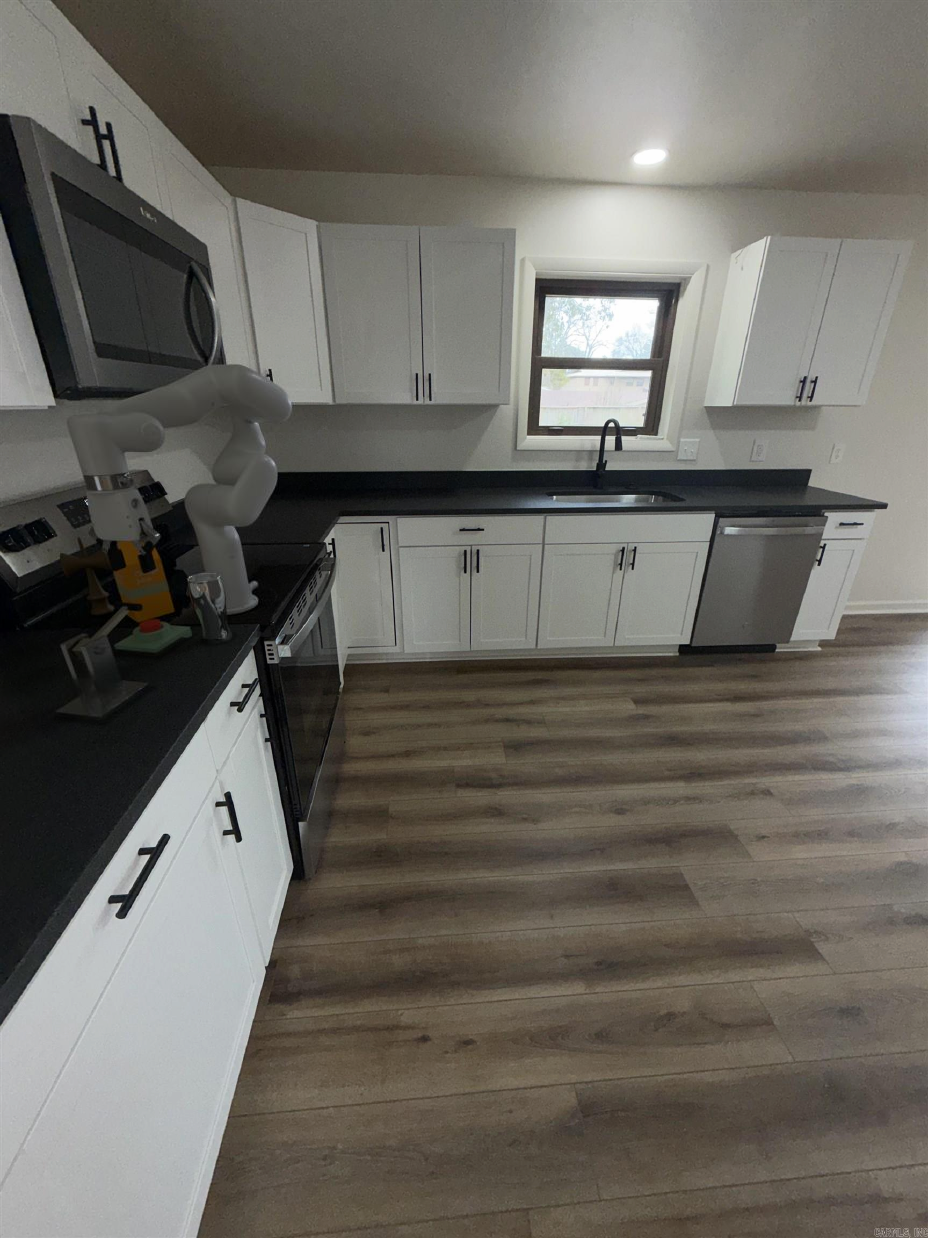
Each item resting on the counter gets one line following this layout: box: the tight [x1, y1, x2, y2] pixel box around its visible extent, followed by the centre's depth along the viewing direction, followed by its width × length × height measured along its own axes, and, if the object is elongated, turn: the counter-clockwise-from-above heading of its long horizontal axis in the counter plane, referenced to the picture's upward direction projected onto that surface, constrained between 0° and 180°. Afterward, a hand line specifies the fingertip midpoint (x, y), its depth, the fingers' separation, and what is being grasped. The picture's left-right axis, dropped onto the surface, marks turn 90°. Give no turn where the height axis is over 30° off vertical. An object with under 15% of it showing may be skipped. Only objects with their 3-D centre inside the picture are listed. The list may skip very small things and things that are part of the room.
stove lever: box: [72, 601, 143, 660], centre depth 89 cm, size 13×5×2 cm, turn 170°
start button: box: [138, 618, 162, 633], centre depth 109 cm, size 4×4×2 cm
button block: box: [113, 621, 193, 654], centre depth 110 cm, size 11×10×4 cm
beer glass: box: [186, 571, 233, 642], centre depth 110 cm, size 7×7×15 cm
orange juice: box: [112, 537, 175, 623], centre depth 122 cm, size 8×9×20 cm
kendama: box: [59, 536, 115, 616], centre depth 123 cm, size 6×10×20 cm, turn 124°
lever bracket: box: [55, 633, 149, 718], centre depth 87 cm, size 11×9×13 cm
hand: (134, 569), depth 104 cm, fingers open, 6 cm apart
